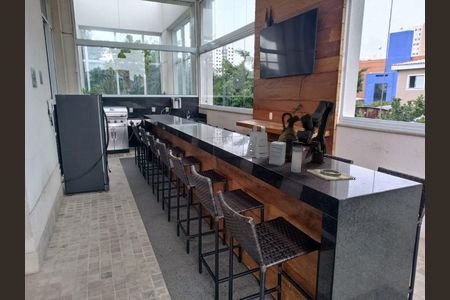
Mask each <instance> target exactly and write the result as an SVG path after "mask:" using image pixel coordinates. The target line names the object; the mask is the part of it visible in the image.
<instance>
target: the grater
mask: <svg viewBox="0 0 450 300" xmlns="http://www.w3.org/2000/svg"><path fill="white" fill-rule="evenodd" d="M258 127H260V128H261V130H260V131H258ZM249 135H250V136H249V141H248V145H247V149H246V154H245V156H248V157H252V158H255V157H256V158H257V159H261V158H260V157H262V158H268V157H267V156H269V145H268V133H267V132H266V126H265V125H259V124H257V125H254V126H253V127H252V131H250V134H249Z"/></svg>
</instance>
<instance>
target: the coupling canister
mask: <svg viewBox="0 0 450 300" xmlns="http://www.w3.org/2000/svg"><path fill="white" fill-rule="evenodd" d="M303 151H304V147H302V146H301V147H293V153H292V160H291V164H290V165H291V168H290V172H291V173H298V174H299V173H301V170H302V159H303Z"/></svg>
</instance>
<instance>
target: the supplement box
mask: <svg viewBox="0 0 450 300" xmlns="http://www.w3.org/2000/svg"><path fill="white" fill-rule="evenodd" d="M269 146H270V147H269V158H268V164H270V165H275V166H282V165H284V164H285V161H286V160H285V150H286V143H284V142H277V141H276V140H275V141H272V142H270V145H269Z"/></svg>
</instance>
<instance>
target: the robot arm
mask: <svg viewBox="0 0 450 300" xmlns="http://www.w3.org/2000/svg"><path fill="white" fill-rule="evenodd" d="M336 108H337V103H335V101H330V100H325V99H323V100H322V99H321V100H319V103H318V106H317V107H316V108H315V110H314V112H313V113H311V114H310V113H305V114H304V115H302V116H301V117H299V118H300V121H299V122H300V124H301V127H302V128H303V130H297V131H296V132H297V134H296V136H297V137H298V138H297V140H299V141H298V142H297V141H294V139H293V138H287V139H286V140H285V142H286V145H287V147H289V156H290V155H291V154H292V152H293V147H295V145H298V146H301V147H302V148H308V150H307V152H306V155H305V157H304V158H305V159H306V160H307V159H308V158H310V157H311V159H309V161H310V162H313V163H314V164H323V163H324V164H325V163H326V161H324V159H325V155H326V154H328V153H327V152H328V147H327V142H326V139H325V136H326V132H327V129H328V126H329V122H330V121H329V120H330V118H331V116H332V115H333V114H334V113H335V110H336ZM316 128H318V130H317V133H316ZM315 134H316V136H314V135H315Z"/></svg>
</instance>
